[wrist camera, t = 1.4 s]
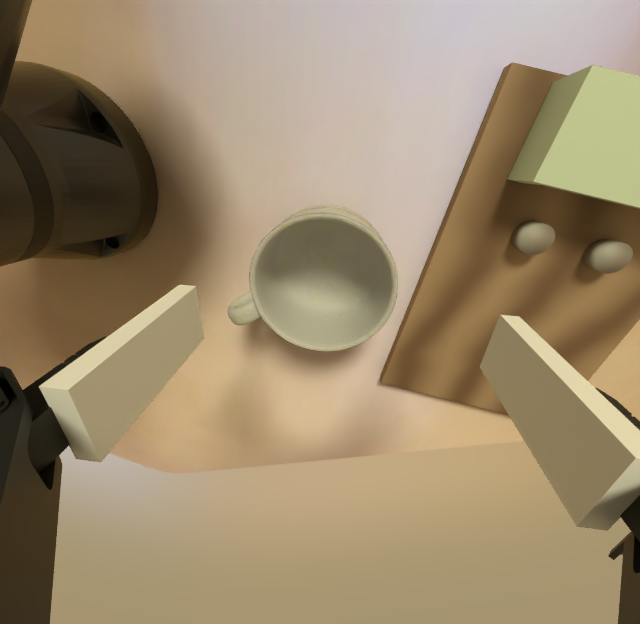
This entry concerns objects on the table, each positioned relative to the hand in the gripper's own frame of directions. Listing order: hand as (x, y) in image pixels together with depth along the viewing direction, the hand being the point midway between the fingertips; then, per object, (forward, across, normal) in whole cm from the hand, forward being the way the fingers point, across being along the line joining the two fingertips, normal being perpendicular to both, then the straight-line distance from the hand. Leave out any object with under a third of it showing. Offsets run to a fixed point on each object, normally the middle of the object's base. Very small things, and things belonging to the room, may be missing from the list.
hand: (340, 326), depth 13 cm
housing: (+14, +18, +8) cm, 25 cm away
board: (+15, +17, -2) cm, 23 cm away
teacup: (+16, -3, -2) cm, 16 cm away
